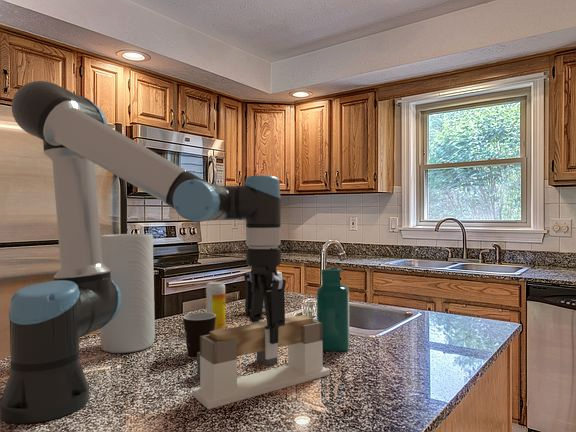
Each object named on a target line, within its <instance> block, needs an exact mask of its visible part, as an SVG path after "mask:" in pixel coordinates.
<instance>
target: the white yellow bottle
mask: <svg viewBox="0 0 576 432" xmlns="http://www.w3.org/2000/svg"><path fill="white" fill-rule="evenodd" d="M205 293H206V294H205V296H206V297H205V302H206V303H205V305H206V306H205V307H206V309H205V310H206V312H205V313H213V314H215V315H216V320H215V330H221V329H226V326H227V325H226V323H227V322H226V321H227V320H226V285H225V282H224V281H211V282H207V283H206V286H205ZM215 330H214V331H215Z"/></svg>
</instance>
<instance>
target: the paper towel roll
mask: <svg viewBox="0 0 576 432" xmlns="http://www.w3.org/2000/svg"><path fill="white" fill-rule="evenodd" d="M100 237H101V250H102V262H103V264H104V265H105V266H106V267H108V268H109V269H110V273H111V280H112V281H113V282H114V283H115V284H116V285H117V286H118V288H119V290H120V293H121V306H120V309H119V311H118V313H117V315H116V316H115V317H114V319H113V320H111V321H110V322H109V323H108V324H106V325H105V326H104V327H102V328H101V329H99V330H100V347H101V349H102V350H103V351H105V353H106V352H107V353H112V354H128V353H134V352H139V351H143V350H146V349H148V348H150V347H151V346H152V345H153V344H154V343H155V335H156V333H155V325H156V323H155V322H156V321H155V320H156V319H155V273H154V238H153V237H154V235H153V234H151V233H120V234H119V233H118V234H116V233H115V234H103V235H101V234H100Z"/></svg>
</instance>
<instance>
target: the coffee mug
mask: <svg viewBox="0 0 576 432" xmlns="http://www.w3.org/2000/svg"><path fill="white" fill-rule="evenodd" d="M182 319H183V328H184V337H185V345H186V351H187V357H191V358H194V359H195V358H196V359H197V352H200V336H203V335H209V334H210V331H214V330H215V320H216V315H215V314H213V313H206V312H195V313H193V312H191V313H187V314H186V315H183V316H182Z"/></svg>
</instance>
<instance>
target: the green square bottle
mask: <svg viewBox="0 0 576 432" xmlns="http://www.w3.org/2000/svg"><path fill="white" fill-rule="evenodd" d="M341 272H343V269H342V268H339V267H327V268H324V269H321V284H320V286H319V287H318V288H317V290H316V321H318V322H321V323H322V342H323V351H328V352H331V351H332V352H346V351H348V350H349V347H350V335H351V334H350V289H349V286H348V285H346V284H344V283H341Z"/></svg>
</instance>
